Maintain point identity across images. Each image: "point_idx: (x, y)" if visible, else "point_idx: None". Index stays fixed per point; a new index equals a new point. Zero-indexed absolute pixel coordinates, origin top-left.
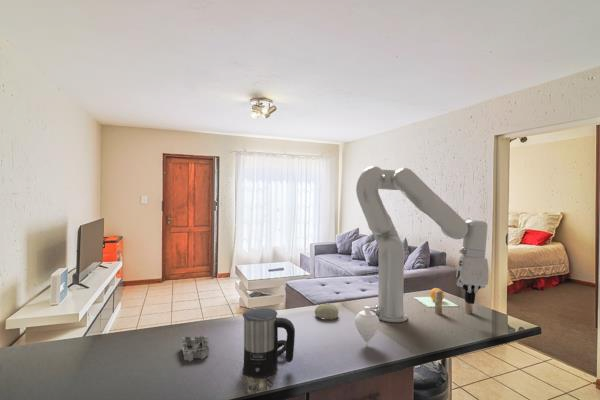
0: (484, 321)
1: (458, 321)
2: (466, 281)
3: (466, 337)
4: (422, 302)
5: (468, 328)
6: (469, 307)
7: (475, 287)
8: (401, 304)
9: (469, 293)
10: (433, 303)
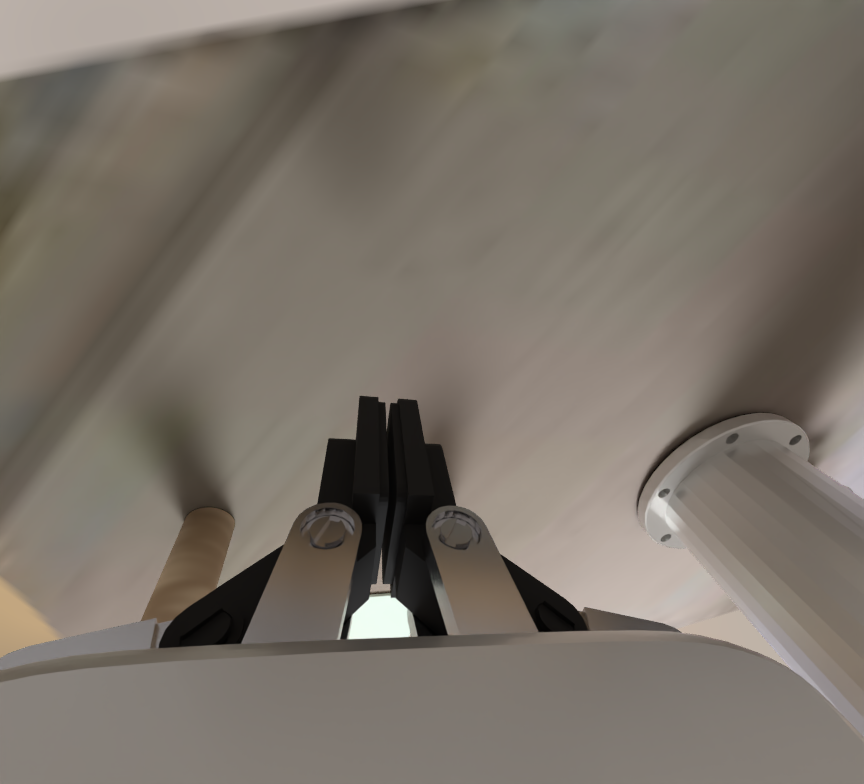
0: (187, 376)
1: (403, 397)
2: (795, 743)
3: (601, 93)
4: (405, 635)
5: (432, 267)
6: (204, 546)
7: (334, 610)
8: (794, 505)
9: (428, 512)
10: (352, 629)
